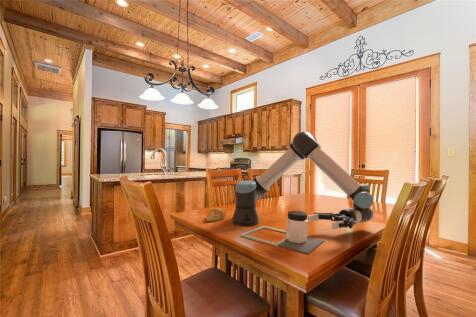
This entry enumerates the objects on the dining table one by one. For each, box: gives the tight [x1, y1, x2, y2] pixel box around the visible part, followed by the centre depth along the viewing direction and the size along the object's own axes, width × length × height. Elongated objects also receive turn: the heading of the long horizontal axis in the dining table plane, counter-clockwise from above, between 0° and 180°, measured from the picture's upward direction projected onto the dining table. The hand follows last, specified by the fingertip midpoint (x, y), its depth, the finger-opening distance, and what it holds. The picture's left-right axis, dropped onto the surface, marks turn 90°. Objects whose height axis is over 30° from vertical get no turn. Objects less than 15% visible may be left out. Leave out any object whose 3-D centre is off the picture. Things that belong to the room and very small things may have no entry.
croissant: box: [205, 207, 226, 222], centre depth 138 cm, size 21×10×8 cm, turn 157°
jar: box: [285, 210, 308, 244], centre depth 101 cm, size 9×8×12 cm
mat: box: [279, 236, 325, 255], centre depth 97 cm, size 12×18×1 cm, turn 141°
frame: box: [240, 225, 288, 248], centre depth 108 cm, size 19×19×1 cm
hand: (319, 222), depth 103 cm, fingers open, 13 cm apart
